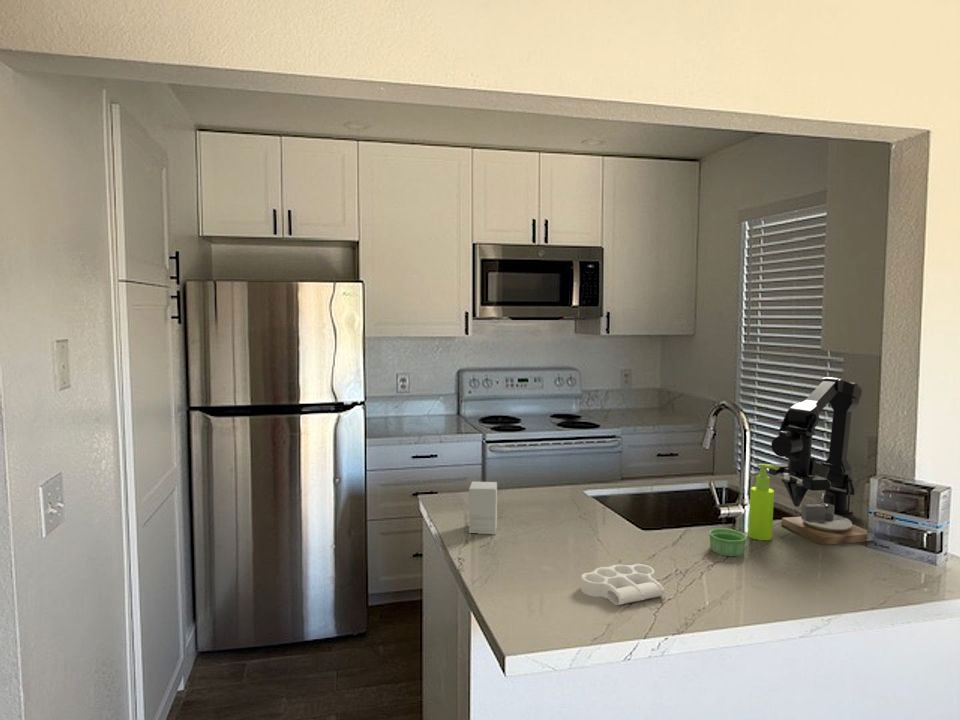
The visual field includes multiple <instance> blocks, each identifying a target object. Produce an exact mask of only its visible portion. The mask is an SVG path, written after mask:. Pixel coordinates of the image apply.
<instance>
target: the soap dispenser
mask: <svg viewBox="0 0 960 720" xmlns="http://www.w3.org/2000/svg"><path fill="white" fill-rule="evenodd" d="M757 468H759V474H756V477H755V486H751V487H750V489H749V490H750V495H749V511H748V512H749V514H748V515H749V516H748V528H747V529H748V532H747V533H748V534H747V535H748V538H750V539H753V540H756V539H757V541H763V540H766V541H771V540H772V539H773V522H774V521H773V520H774V519H773V518H774V505H775V504H774V503H775V502H774V501H775V490H774V489H773V488H770V482H771V481H770V480H771V477H770V476H768V475H767V474H768V473H767V472H768V471H767V470H768V469H769V468H771V469H775V470H778V469H780V467H777V466H774V465H772V464H771V463H770V464H769V463H760V462H759V463H758V464H757Z"/></svg>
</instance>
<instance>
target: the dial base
mask: <svg viewBox="0 0 960 720" xmlns="http://www.w3.org/2000/svg"><path fill="white" fill-rule="evenodd" d="M781 525H782V526H784V527H785V526H786V527H785V528H787V527H788V529H789V530H791V531H794V532H795V533H798V534H800V535H802V536H803V537H806V538H807V539H809V540H811V541H813V542H815V543H817V544H819V545H822V546H825V545H827V546H828V545H838V544H839V545H841V544H850V543H851V544H852V543H862V542H864V543H865V541H866V539H867V531H868V530H867V529H865V528H861V527H860V526H857V525H855V524H853V523H852V527H851V530H849V531H846V532H831V531H824V530H819V529H815V528H812V527H809V526H807V525H805V524H804V523H803V519H801V516H787V517H781ZM866 542H867V541H866Z"/></svg>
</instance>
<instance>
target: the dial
mask: <svg viewBox="0 0 960 720" xmlns="http://www.w3.org/2000/svg"><path fill="white" fill-rule="evenodd" d="M800 517H801V519H803V523H804V524H805V525H807V526H809V527H812V528H815V529H819V530H824V531H831V532H846V531H849V530H851V527H852V524H853V523H852V520H850V519H849V518H847V517H844V516H842V515H840V514H834V505H832V504H828V503H824V502H822V503H816V504H815V503H814V504H813V503H812V504H811V503H807V504H804V503H803V504H801V515H800Z"/></svg>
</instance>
